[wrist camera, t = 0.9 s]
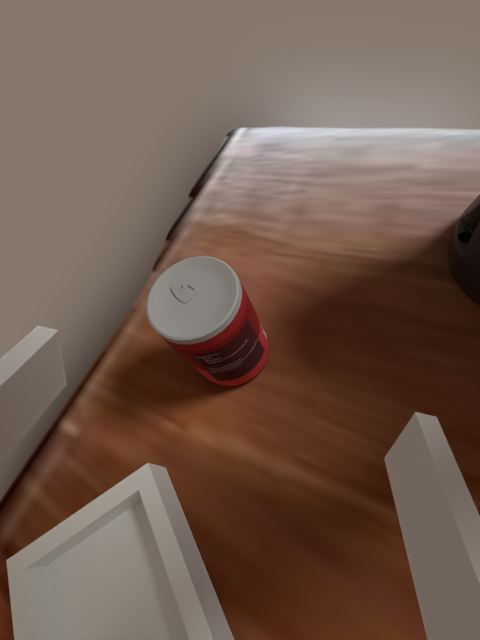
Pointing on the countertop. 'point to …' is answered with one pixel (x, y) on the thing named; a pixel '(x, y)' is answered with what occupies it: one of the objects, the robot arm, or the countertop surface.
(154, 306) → the canned food
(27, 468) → the countertop surface
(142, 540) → the tray
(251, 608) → the countertop surface
